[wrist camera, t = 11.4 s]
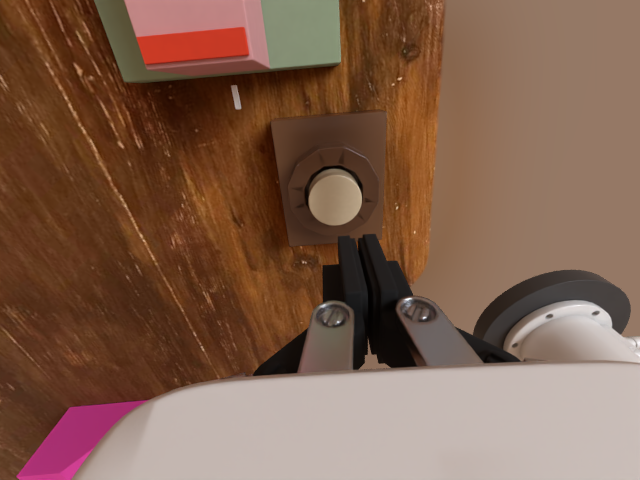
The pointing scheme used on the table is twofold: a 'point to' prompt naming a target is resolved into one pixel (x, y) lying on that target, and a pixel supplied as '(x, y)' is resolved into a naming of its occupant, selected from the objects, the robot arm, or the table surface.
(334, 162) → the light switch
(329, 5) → the green mat
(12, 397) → the table surface
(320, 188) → the button
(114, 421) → the bracket
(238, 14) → the pink bar
